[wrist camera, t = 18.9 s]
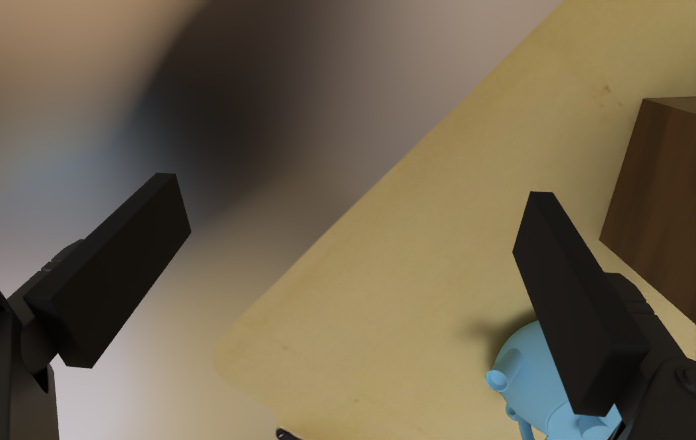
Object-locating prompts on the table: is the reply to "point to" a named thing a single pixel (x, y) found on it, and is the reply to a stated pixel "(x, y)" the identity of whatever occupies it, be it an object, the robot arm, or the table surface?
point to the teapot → (541, 391)
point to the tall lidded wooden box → (659, 201)
